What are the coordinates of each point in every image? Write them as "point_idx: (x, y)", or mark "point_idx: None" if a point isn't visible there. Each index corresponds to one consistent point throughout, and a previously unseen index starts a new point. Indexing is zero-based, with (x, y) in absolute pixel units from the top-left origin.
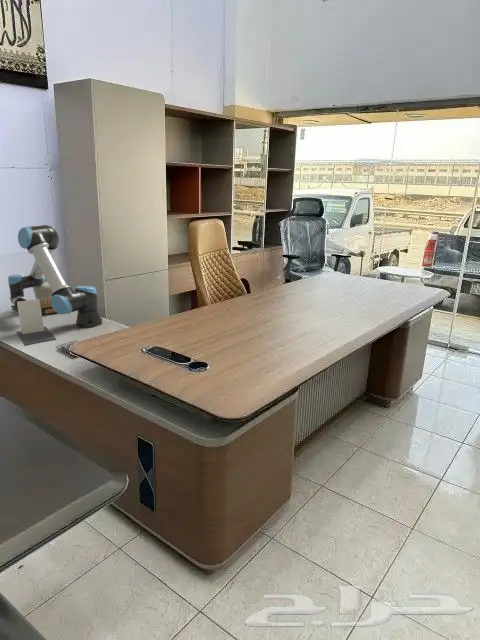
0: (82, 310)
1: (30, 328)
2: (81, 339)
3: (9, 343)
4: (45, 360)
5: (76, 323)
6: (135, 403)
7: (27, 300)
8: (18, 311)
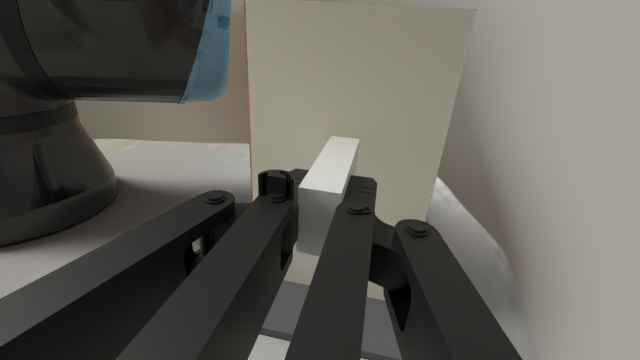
0: (73, 100)
1: None
2: (246, 144)
3: (479, 227)
4: None
5: (91, 199)
6: None
7: (357, 4)
8: (446, 127)
